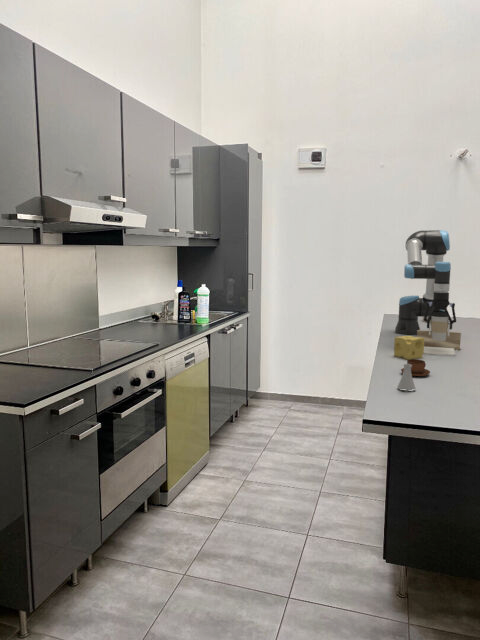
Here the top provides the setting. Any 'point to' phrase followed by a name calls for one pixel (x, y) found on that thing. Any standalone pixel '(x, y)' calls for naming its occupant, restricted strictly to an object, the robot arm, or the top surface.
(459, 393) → the top surface
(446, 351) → the display pad
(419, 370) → the cup and saucer
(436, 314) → the coffee cup
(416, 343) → the cheese
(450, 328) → the robot arm
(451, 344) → the wooden screen
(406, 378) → the flask
